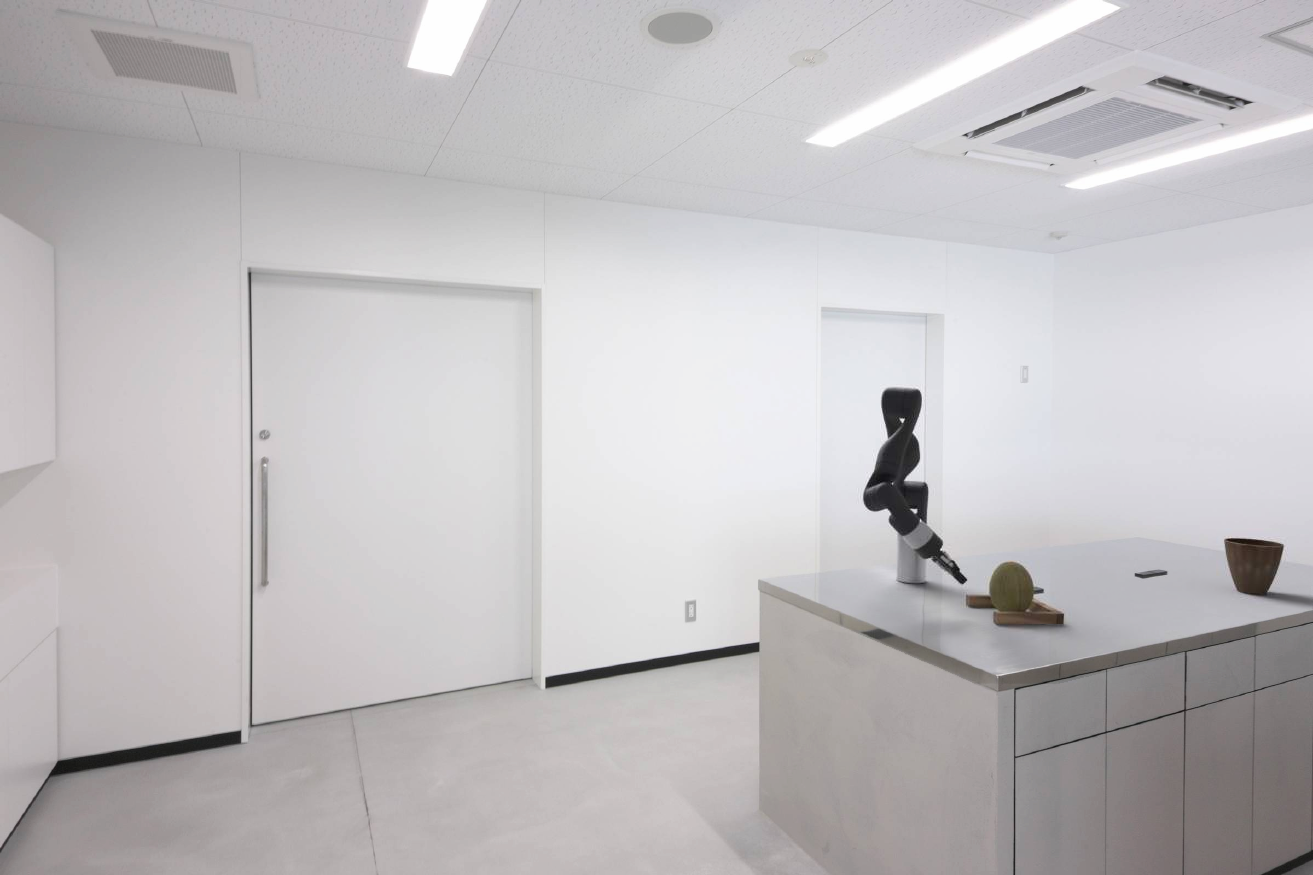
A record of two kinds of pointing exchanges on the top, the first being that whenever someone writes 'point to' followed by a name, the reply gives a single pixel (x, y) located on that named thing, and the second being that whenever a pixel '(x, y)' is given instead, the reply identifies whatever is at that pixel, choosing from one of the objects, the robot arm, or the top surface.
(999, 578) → the fruit
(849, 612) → the top surface
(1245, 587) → the plant pot
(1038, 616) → the walnut bay
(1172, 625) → the top surface
